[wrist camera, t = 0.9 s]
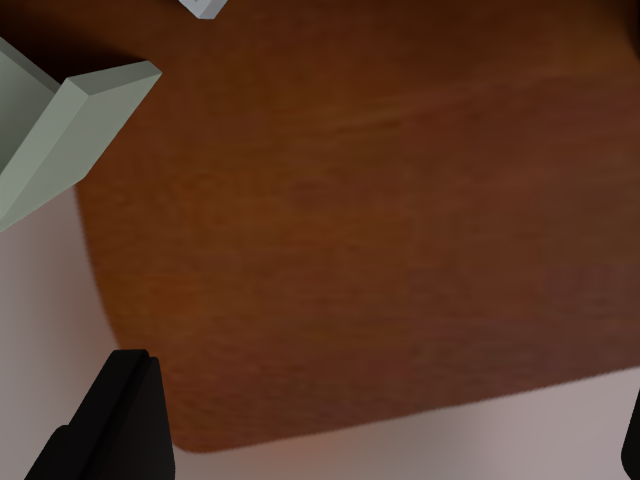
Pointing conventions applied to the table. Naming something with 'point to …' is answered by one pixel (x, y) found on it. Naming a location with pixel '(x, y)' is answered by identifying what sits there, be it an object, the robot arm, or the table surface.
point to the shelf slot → (58, 126)
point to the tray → (204, 7)
